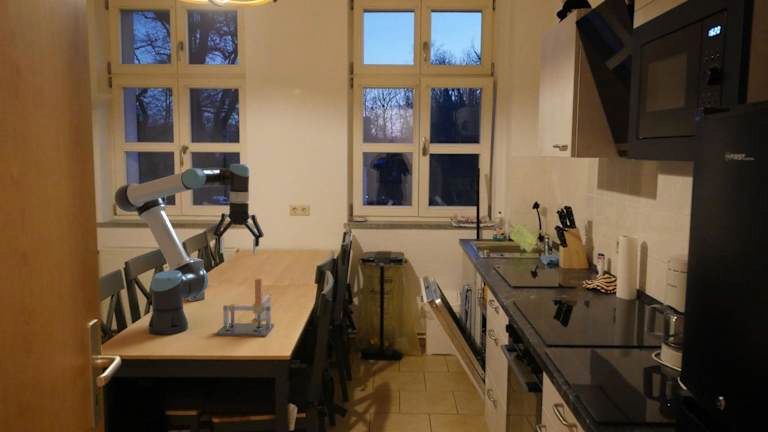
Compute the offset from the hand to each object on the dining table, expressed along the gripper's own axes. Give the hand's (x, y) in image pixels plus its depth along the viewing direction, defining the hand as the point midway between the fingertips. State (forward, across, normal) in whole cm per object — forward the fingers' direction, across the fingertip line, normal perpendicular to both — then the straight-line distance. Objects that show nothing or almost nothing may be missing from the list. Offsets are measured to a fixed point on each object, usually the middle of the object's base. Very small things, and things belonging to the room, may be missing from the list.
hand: (238, 253), depth 225 cm
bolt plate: (+31, +5, -6) cm, 32 cm away
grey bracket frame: (+30, +5, -4) cm, 30 cm away
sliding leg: (+29, +10, -4) cm, 31 cm away
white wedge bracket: (+31, +7, +13) cm, 35 cm away
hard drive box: (+33, -38, +45) cm, 67 cm away
